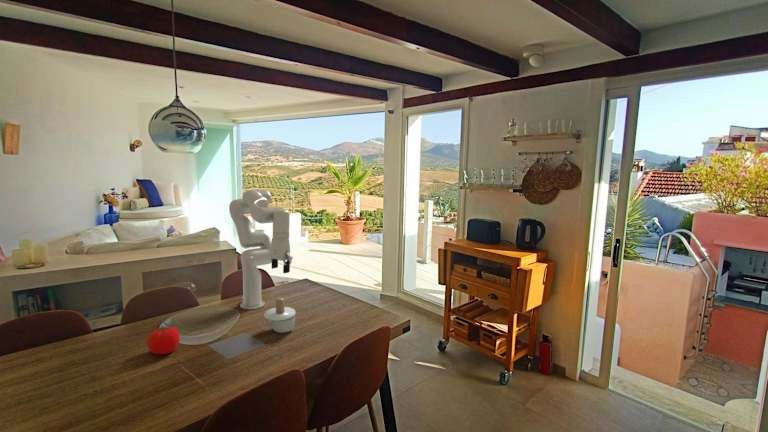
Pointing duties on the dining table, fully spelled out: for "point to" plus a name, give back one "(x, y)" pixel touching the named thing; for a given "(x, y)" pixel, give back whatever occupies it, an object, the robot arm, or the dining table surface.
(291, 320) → the teacup
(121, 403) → the dining table surface
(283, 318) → the lid
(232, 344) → the mat
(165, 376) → the dining table surface
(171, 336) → the tomato
